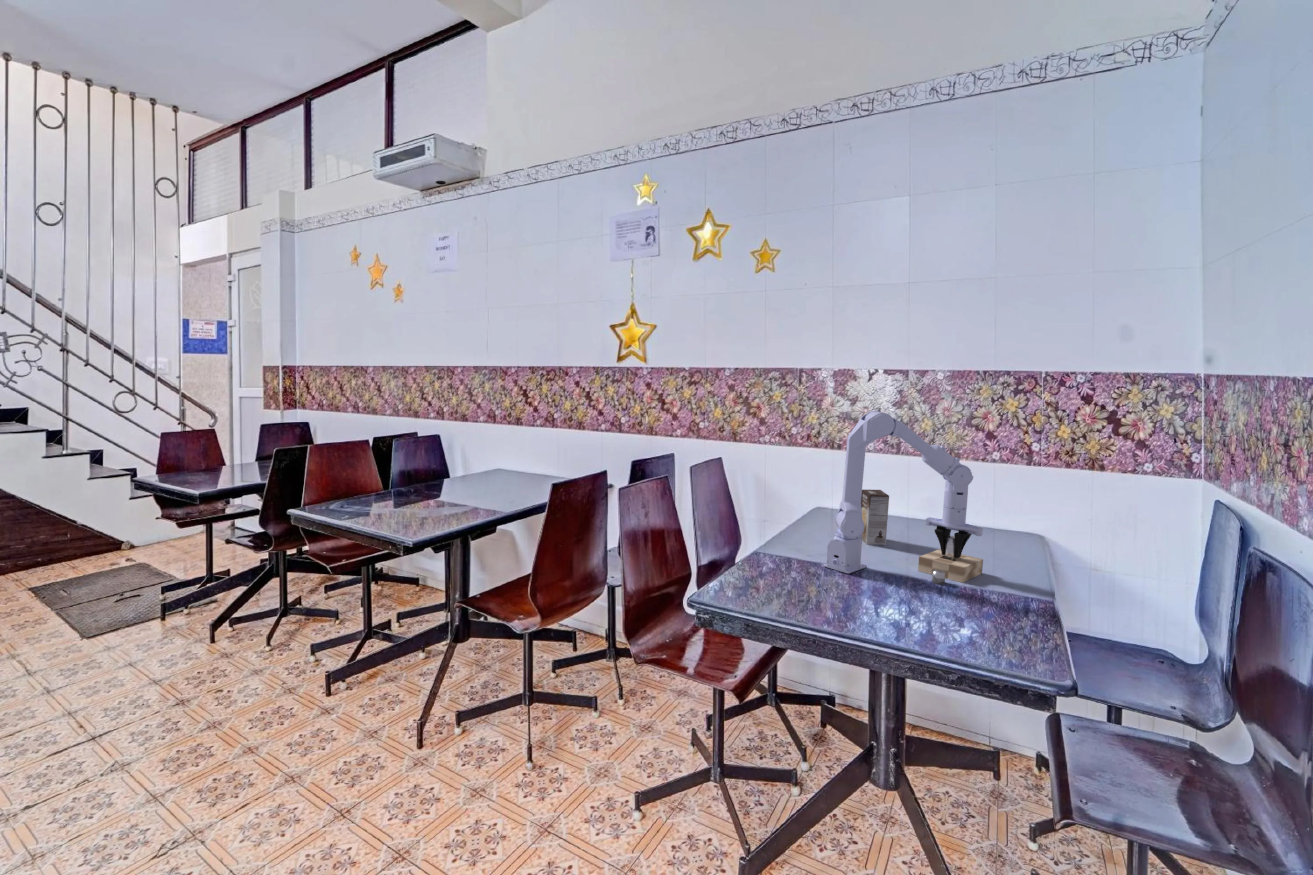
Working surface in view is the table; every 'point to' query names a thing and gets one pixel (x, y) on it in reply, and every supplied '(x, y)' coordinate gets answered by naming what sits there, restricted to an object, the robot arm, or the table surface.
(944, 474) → the robot arm
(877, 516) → the coffee box
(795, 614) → the table surface
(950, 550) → the long pin
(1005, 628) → the table surface
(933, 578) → the short stub
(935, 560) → the socket block
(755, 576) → the table surface
